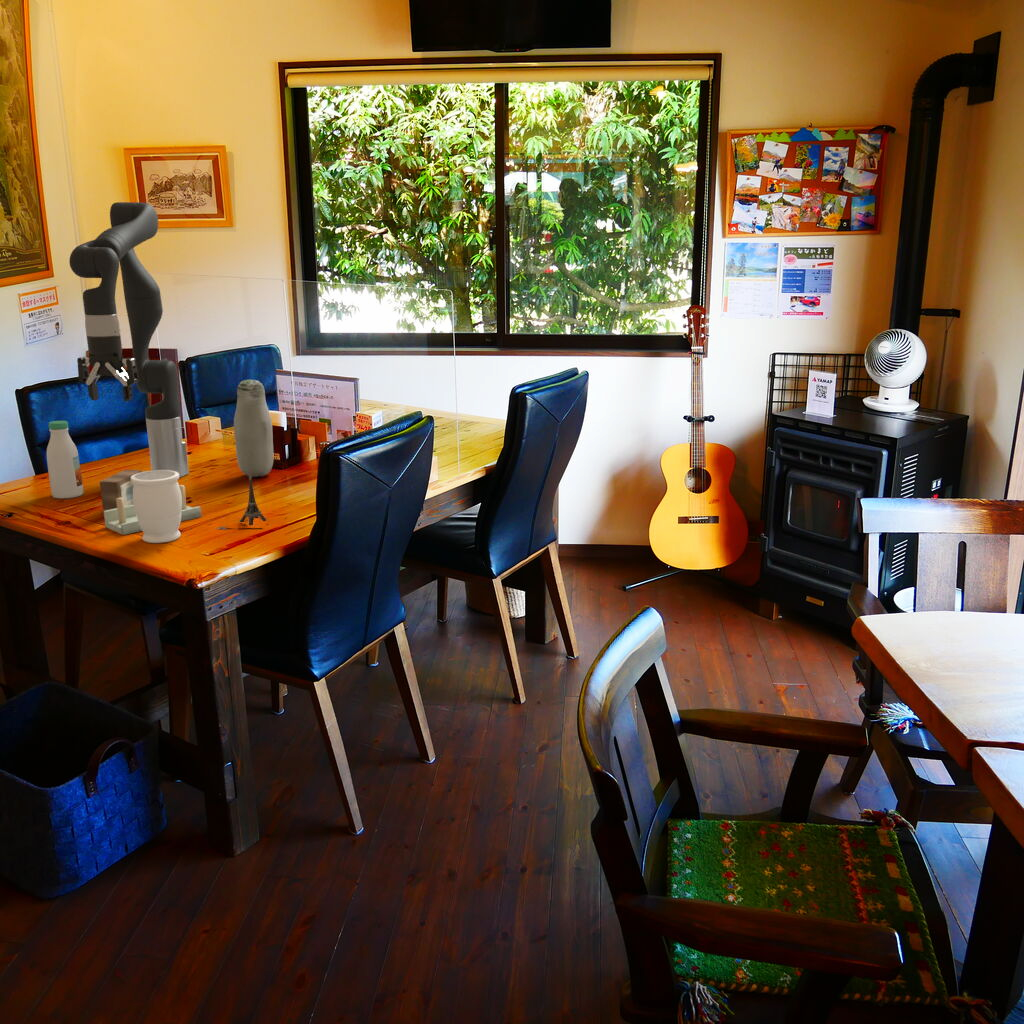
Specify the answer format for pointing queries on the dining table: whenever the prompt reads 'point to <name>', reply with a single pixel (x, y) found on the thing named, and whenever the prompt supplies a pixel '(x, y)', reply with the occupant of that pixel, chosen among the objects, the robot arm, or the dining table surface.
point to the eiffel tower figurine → (251, 507)
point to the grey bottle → (253, 430)
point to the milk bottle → (63, 463)
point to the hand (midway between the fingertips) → (111, 400)
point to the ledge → (127, 520)
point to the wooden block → (117, 489)
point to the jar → (158, 504)
